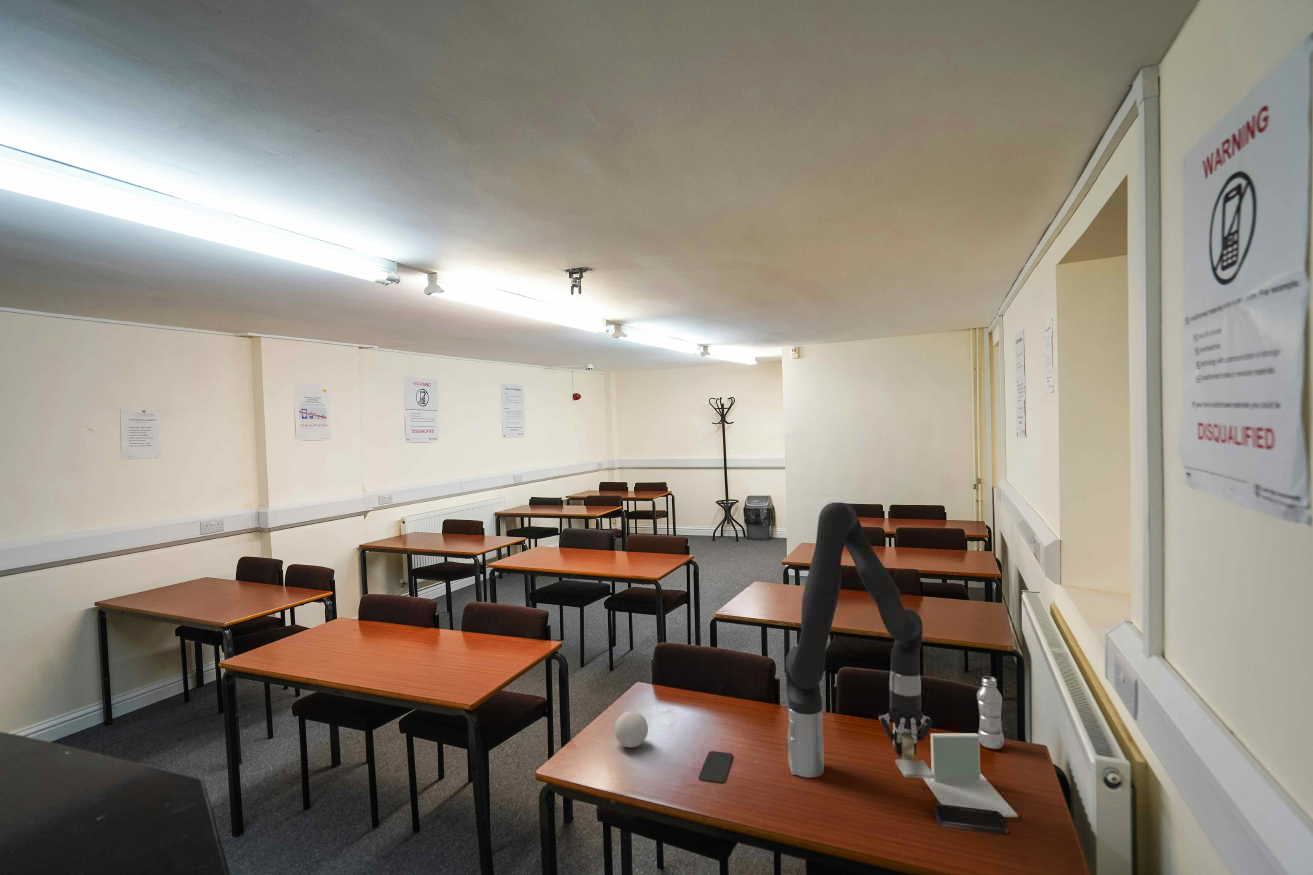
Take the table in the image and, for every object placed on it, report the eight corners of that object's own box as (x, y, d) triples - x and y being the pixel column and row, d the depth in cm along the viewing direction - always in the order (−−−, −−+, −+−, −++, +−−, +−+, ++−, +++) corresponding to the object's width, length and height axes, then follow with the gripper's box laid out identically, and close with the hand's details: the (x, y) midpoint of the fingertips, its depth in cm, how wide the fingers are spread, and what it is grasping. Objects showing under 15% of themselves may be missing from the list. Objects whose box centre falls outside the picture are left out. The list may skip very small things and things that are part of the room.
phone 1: (697, 778, 164) (708, 750, 178) (697, 781, 164) (709, 753, 178) (724, 782, 162) (733, 753, 176) (724, 785, 162) (733, 756, 176)
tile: (934, 781, 160) (933, 736, 160) (931, 778, 161) (930, 733, 161) (980, 781, 159) (979, 736, 159) (977, 778, 161) (976, 733, 161)
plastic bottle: (1007, 753, 174) (1005, 683, 174) (982, 751, 175) (980, 682, 175) (999, 741, 180) (998, 674, 180) (975, 740, 181) (973, 673, 181)
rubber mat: (949, 816, 146) (949, 815, 146) (920, 774, 164) (920, 773, 164) (1018, 816, 145) (1018, 815, 145) (981, 774, 163) (981, 773, 163)
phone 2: (1010, 831, 139) (939, 822, 143) (1010, 836, 139) (939, 826, 143) (1000, 810, 146) (933, 802, 150) (1000, 815, 146) (933, 806, 150)
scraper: (904, 777, 147) (904, 752, 147) (884, 744, 163) (884, 722, 163) (934, 778, 146) (934, 753, 146) (911, 745, 162) (910, 723, 162)
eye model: (625, 734, 190) (624, 703, 190) (654, 741, 186) (653, 708, 186) (609, 749, 181) (608, 716, 181) (639, 757, 177) (638, 722, 177)
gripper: (882, 693, 153) (882, 762, 153) (938, 695, 152) (938, 764, 152) (873, 681, 161) (873, 746, 161) (927, 683, 160) (927, 748, 160)
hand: (905, 754), depth 156 cm, fingers closed on scraper, 2 cm apart
